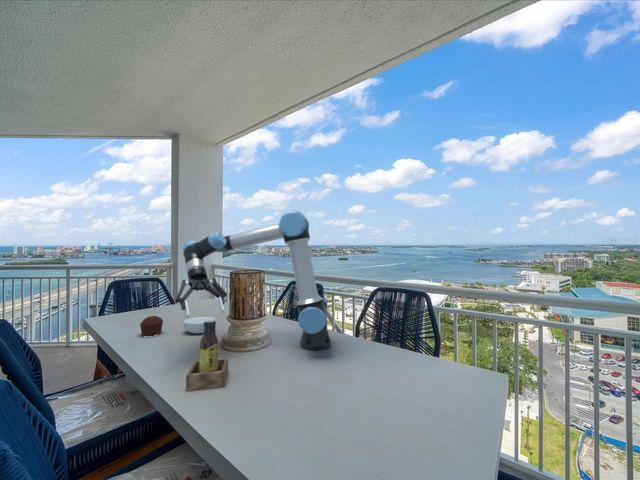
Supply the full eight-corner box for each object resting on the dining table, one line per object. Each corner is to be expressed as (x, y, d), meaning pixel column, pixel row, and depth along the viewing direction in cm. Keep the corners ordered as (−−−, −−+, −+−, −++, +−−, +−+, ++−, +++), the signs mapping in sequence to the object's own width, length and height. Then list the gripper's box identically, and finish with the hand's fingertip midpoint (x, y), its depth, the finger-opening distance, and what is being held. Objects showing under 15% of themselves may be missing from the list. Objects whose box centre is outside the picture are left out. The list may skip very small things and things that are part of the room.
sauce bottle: (211, 382, 97) (212, 323, 98) (195, 380, 98) (195, 322, 99) (221, 374, 103) (222, 319, 104) (206, 372, 104) (206, 318, 105)
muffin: (155, 338, 151) (155, 319, 151) (134, 338, 151) (135, 319, 151) (167, 331, 163) (167, 314, 163) (148, 331, 163) (148, 314, 163)
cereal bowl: (221, 330, 164) (221, 318, 164) (195, 338, 150) (195, 324, 150) (203, 326, 173) (203, 315, 173) (176, 333, 159) (177, 320, 159)
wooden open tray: (227, 371, 108) (227, 357, 108) (224, 387, 96) (224, 371, 96) (194, 374, 105) (194, 360, 106) (185, 391, 93) (186, 375, 93)
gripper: (222, 275, 134) (232, 314, 123) (163, 278, 119) (169, 323, 107) (226, 265, 130) (238, 305, 119) (166, 267, 114) (173, 313, 103)
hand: (205, 314), depth 113 cm, fingers open, 13 cm apart
